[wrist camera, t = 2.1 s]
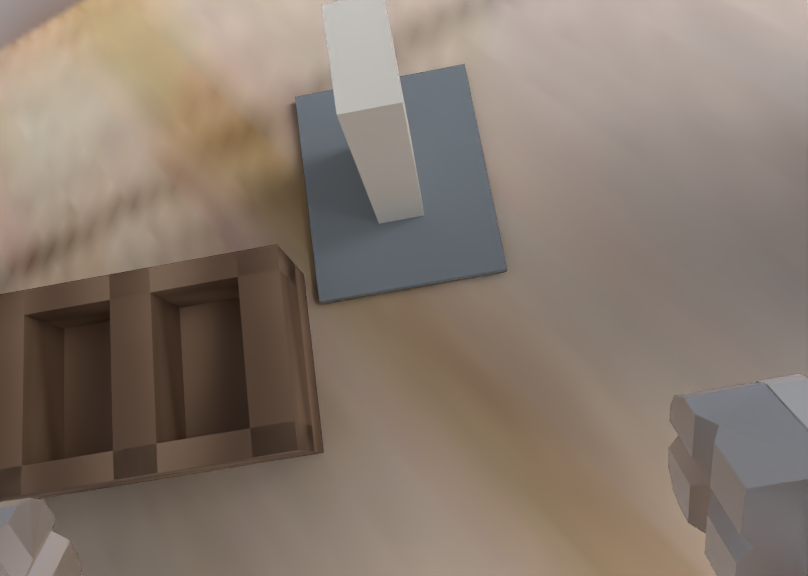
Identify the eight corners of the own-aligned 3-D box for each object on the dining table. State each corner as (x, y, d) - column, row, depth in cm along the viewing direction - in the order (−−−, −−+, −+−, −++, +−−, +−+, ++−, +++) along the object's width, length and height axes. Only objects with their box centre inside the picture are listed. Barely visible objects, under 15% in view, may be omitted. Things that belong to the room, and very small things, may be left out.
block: (410, 133, 29) (383, -9, 20) (424, 215, 28) (402, 102, 19) (366, 142, 29) (321, 4, 20) (378, 223, 28) (336, 115, 19)
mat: (464, 69, 30) (464, 64, 29) (506, 271, 27) (506, 268, 27) (297, 101, 30) (295, 97, 30) (321, 303, 28) (319, 301, 27)
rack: (303, 274, 28) (276, 244, 24) (323, 452, 26) (297, 450, 22) (-55, 338, 29) (-136, 318, 25) (-64, 514, 27) (-154, 522, 23)
